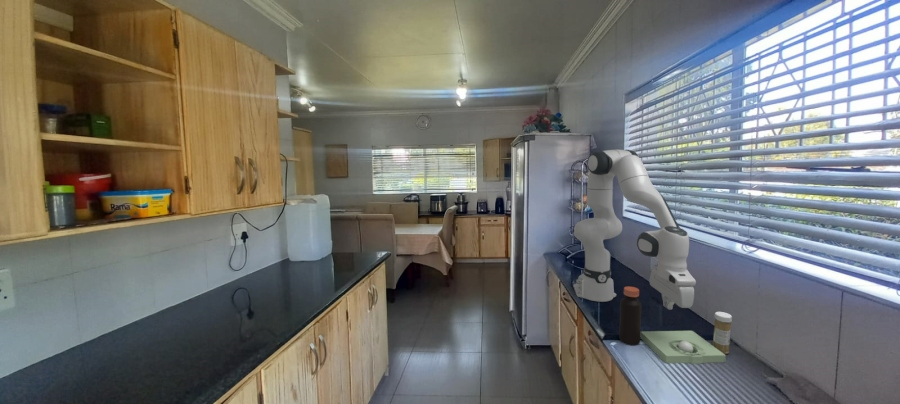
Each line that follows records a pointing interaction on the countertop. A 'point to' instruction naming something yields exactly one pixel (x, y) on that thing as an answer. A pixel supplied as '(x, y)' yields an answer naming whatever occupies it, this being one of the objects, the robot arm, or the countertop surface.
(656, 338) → the putting mat
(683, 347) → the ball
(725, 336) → the sprinkles bottle
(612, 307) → the countertop surface
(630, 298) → the vinegar
